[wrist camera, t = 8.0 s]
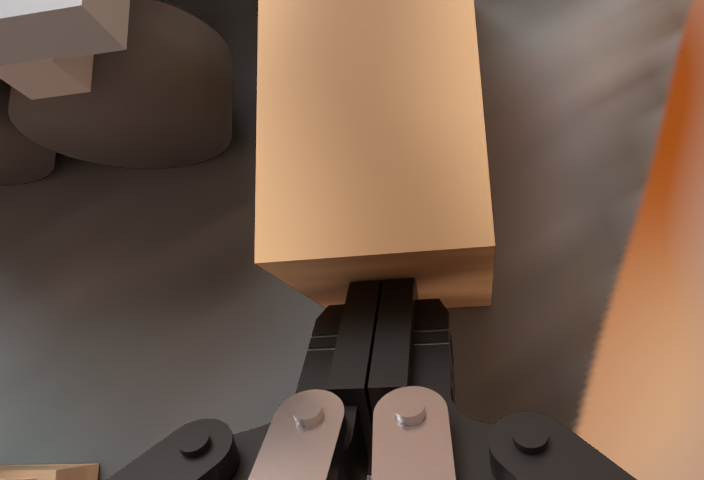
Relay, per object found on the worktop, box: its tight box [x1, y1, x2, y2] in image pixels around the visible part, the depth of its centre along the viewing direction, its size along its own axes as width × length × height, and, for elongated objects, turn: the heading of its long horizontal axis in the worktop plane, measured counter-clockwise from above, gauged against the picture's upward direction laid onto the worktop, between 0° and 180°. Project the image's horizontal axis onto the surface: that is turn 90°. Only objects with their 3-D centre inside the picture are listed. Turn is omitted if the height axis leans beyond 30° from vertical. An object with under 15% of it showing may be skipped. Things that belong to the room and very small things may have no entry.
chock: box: [254, 0, 495, 308], centre depth 16 cm, size 4×10×7 cm, turn 2°
